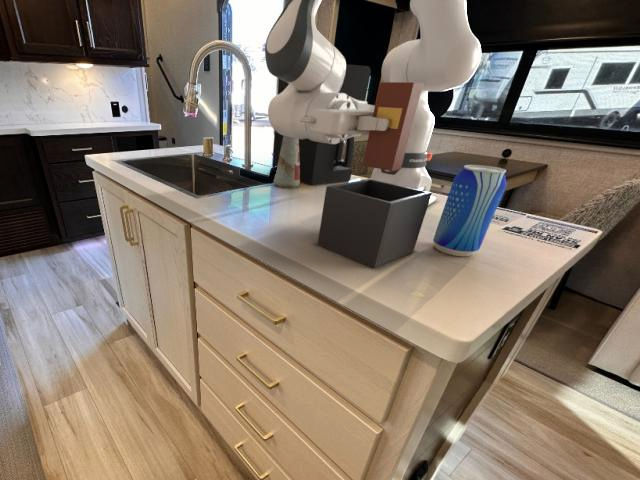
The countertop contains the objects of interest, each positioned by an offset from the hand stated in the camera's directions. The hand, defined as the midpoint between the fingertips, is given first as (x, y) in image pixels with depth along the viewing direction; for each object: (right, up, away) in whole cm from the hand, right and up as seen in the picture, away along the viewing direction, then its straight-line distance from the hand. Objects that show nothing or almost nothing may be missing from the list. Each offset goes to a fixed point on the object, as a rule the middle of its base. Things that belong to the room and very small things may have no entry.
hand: (396, 124), depth 57 cm
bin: (-1, -19, +12) cm, 23 cm away
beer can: (+18, -20, +13) cm, 29 cm away
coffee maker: (+1, +16, +71) cm, 72 cm away
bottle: (-11, +9, +58) cm, 60 cm away
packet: (-1, -6, +4) cm, 7 cm away
